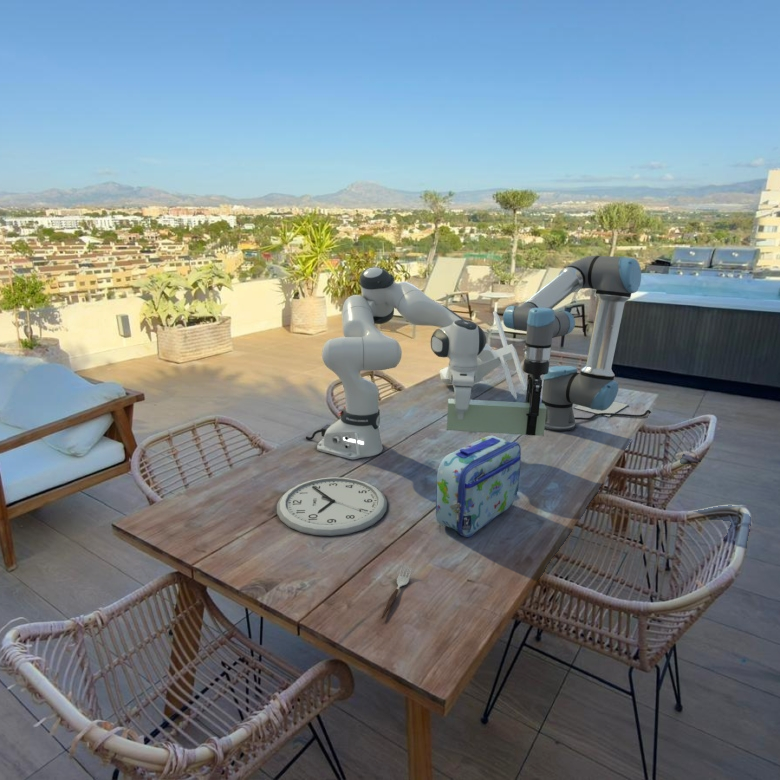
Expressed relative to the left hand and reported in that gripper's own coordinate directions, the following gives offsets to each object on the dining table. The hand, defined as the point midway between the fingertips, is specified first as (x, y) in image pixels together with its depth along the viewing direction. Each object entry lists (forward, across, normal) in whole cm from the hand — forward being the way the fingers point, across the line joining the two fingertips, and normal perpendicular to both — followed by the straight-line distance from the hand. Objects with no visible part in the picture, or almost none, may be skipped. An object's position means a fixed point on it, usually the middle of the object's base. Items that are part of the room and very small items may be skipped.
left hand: (459, 415), depth 166 cm
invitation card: (+15, -64, +63) cm, 92 cm away
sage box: (+4, 0, +11) cm, 12 cm away
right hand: (+4, 0, +22) cm, 22 cm away
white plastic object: (+16, -77, +12) cm, 80 cm away
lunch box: (+16, +34, +5) cm, 38 cm away
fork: (+16, +67, -14) cm, 71 cm away
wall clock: (+16, +33, -34) cm, 50 cm away
